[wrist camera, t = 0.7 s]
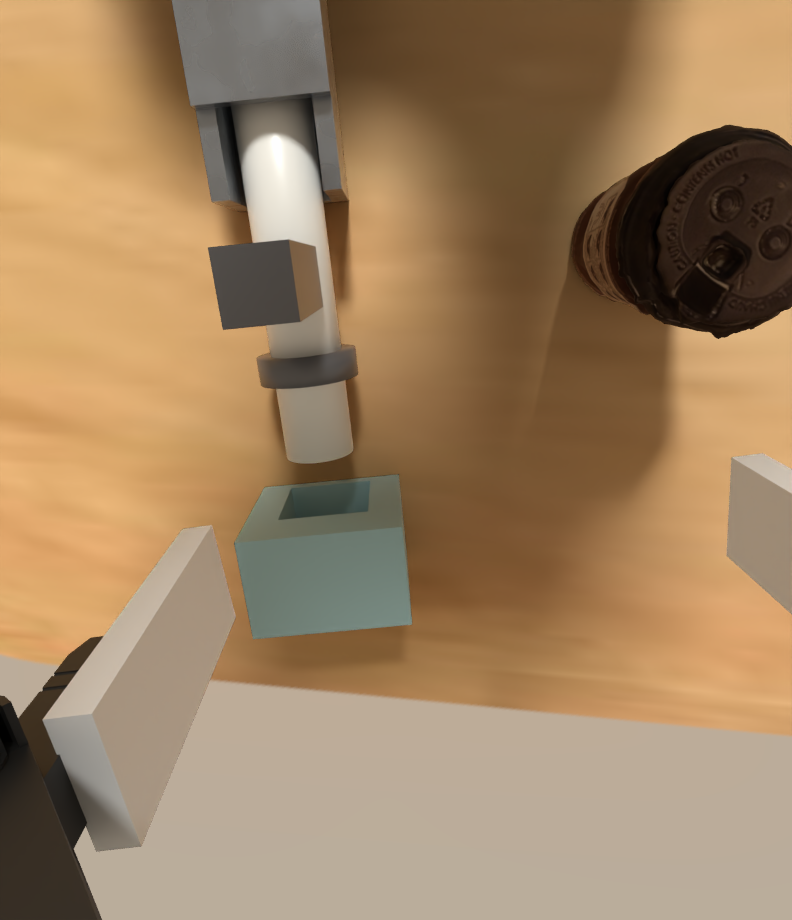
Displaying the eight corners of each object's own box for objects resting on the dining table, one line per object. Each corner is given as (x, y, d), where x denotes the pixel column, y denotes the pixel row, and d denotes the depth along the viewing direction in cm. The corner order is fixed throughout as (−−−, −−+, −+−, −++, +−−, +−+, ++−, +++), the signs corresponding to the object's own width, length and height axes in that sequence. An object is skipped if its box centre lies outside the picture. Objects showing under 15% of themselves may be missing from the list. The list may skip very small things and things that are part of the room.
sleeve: (198, -36, 31) (151, -111, 25) (320, -50, 31) (304, -128, 25) (239, 211, 35) (207, 200, 29) (348, 200, 35) (340, 186, 29)
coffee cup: (565, 336, 38) (653, 371, 25) (532, 199, 35) (611, 163, 23) (704, 290, 37) (865, 303, 25) (680, 146, 34) (845, 80, 22)
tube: (207, -19, 31) (79, -221, 18) (314, -30, 31) (264, -242, 18) (281, 443, 39) (229, 534, 26) (368, 435, 39) (359, 521, 26)
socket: (264, 487, 40) (234, 543, 32) (398, 474, 40) (402, 527, 32) (278, 567, 42) (253, 639, 34) (407, 555, 42) (412, 624, 34)
